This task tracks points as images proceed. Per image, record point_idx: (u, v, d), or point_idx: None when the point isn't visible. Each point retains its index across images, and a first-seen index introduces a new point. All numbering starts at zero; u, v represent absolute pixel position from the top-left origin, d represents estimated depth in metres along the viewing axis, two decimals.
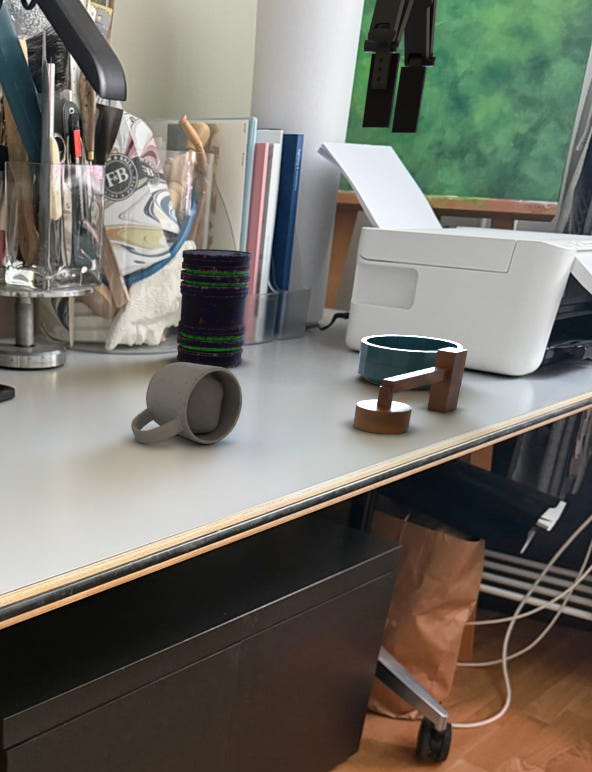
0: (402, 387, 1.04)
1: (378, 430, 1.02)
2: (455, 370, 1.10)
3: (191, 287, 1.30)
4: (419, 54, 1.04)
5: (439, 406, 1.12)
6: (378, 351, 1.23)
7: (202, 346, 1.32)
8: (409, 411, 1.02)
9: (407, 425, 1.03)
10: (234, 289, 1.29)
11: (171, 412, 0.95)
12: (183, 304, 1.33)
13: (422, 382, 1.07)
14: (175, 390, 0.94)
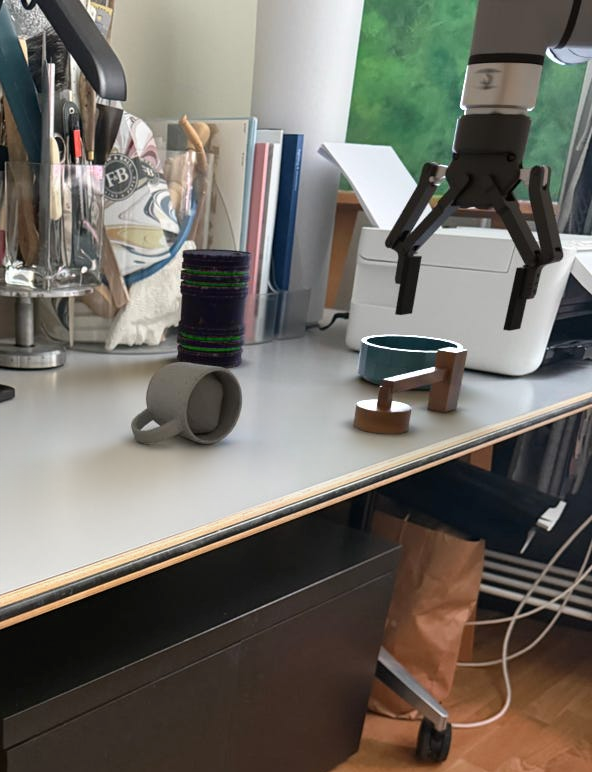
0: (402, 387, 1.04)
1: (378, 430, 1.02)
2: (455, 370, 1.10)
3: (191, 287, 1.30)
4: None
5: (439, 406, 1.12)
6: (378, 351, 1.23)
7: (202, 346, 1.32)
8: (409, 411, 1.02)
9: (407, 425, 1.03)
10: (234, 289, 1.29)
11: (171, 412, 0.95)
12: (183, 304, 1.33)
13: (422, 382, 1.07)
14: (175, 390, 0.94)
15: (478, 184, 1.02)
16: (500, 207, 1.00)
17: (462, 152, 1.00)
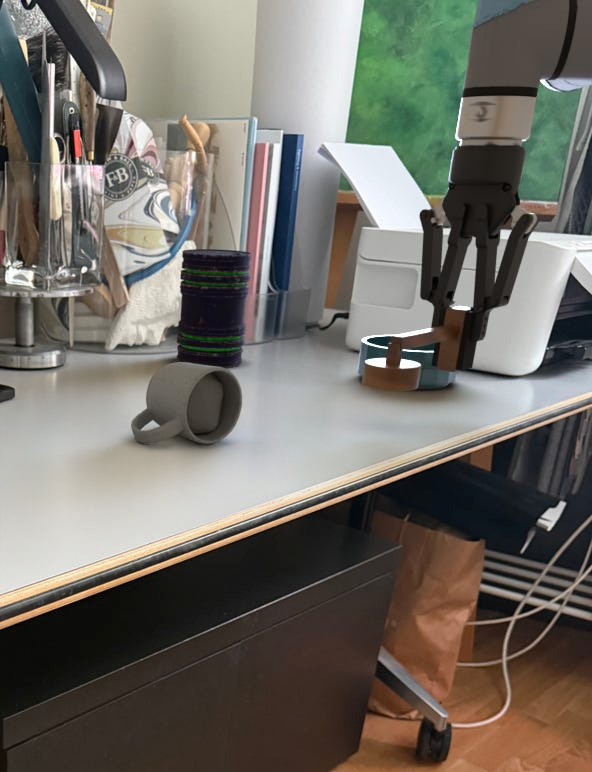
0: (411, 344, 1.02)
1: (387, 387, 1.00)
2: None
3: (191, 287, 1.30)
4: (445, 295, 1.10)
5: (449, 366, 1.10)
6: (378, 351, 1.23)
7: (202, 346, 1.32)
8: (419, 368, 1.00)
9: (417, 382, 1.01)
10: (234, 289, 1.29)
11: (171, 412, 0.95)
12: (183, 304, 1.33)
13: (431, 340, 1.05)
14: (175, 390, 0.94)
15: (474, 213, 1.03)
16: (480, 243, 1.03)
17: (458, 182, 1.01)
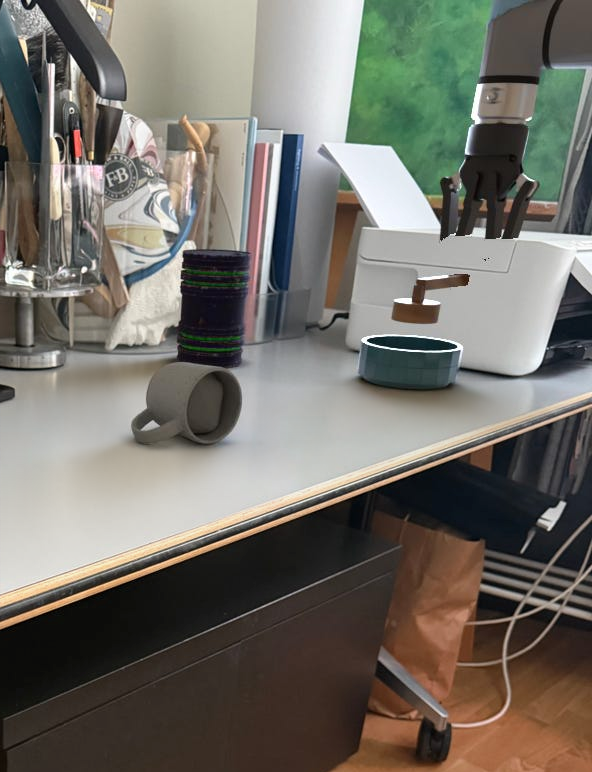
0: (432, 286, 1.24)
1: (413, 321, 1.22)
2: None
3: (191, 287, 1.30)
4: None
5: None
6: (378, 351, 1.23)
7: (202, 346, 1.32)
8: (439, 305, 1.23)
9: (437, 317, 1.23)
10: (234, 289, 1.29)
11: (171, 412, 0.95)
12: (183, 304, 1.33)
13: (449, 284, 1.27)
14: (175, 390, 0.94)
15: (486, 180, 1.25)
16: (490, 205, 1.25)
17: (473, 154, 1.24)
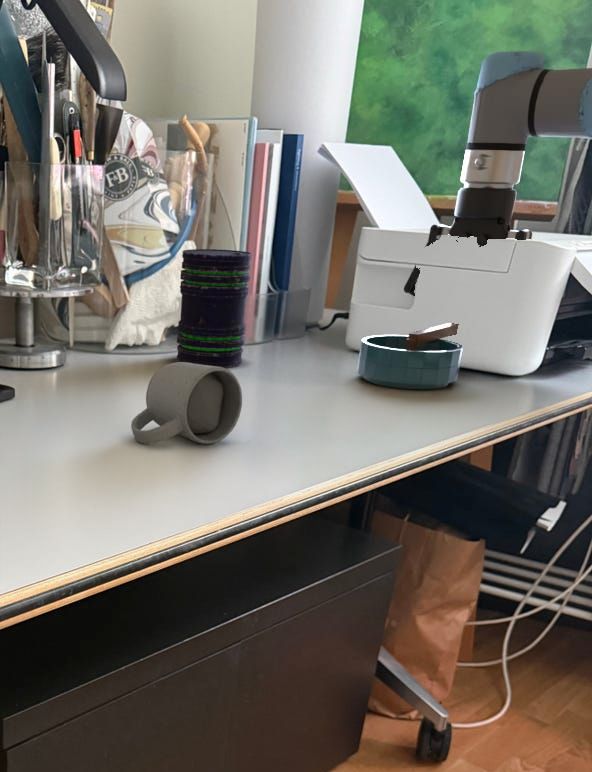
0: (424, 339, 1.27)
1: None
2: None
3: (191, 287, 1.30)
4: None
5: None
6: (378, 351, 1.23)
7: (202, 346, 1.32)
8: None
9: None
10: (234, 289, 1.29)
11: (171, 412, 0.95)
12: (183, 304, 1.33)
13: (441, 335, 1.30)
14: (175, 390, 0.94)
15: None
16: None
17: (462, 217, 1.27)
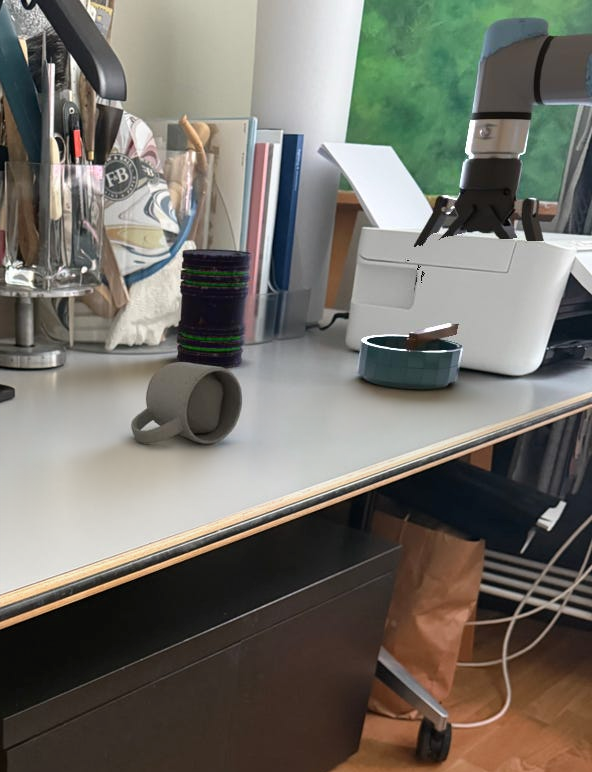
0: (425, 339, 1.27)
1: None
2: None
3: (191, 287, 1.30)
4: None
5: None
6: (378, 351, 1.23)
7: (202, 346, 1.32)
8: None
9: None
10: (234, 289, 1.29)
11: (171, 412, 0.95)
12: (183, 304, 1.33)
13: (441, 335, 1.30)
14: (175, 390, 0.94)
15: (481, 213, 1.27)
16: (499, 232, 1.26)
17: (468, 188, 1.26)
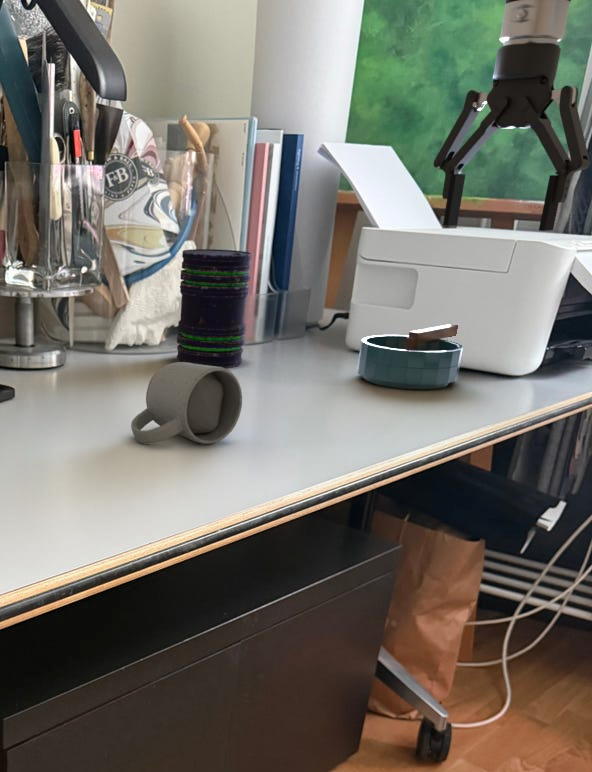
0: (425, 338, 1.27)
1: None
2: None
3: (191, 287, 1.30)
4: None
5: None
6: (378, 351, 1.23)
7: (202, 346, 1.32)
8: None
9: None
10: (234, 289, 1.29)
11: (171, 412, 0.95)
12: (183, 304, 1.33)
13: (441, 335, 1.30)
14: (175, 390, 0.94)
15: (515, 105, 1.20)
16: (535, 124, 1.18)
17: (502, 78, 1.18)
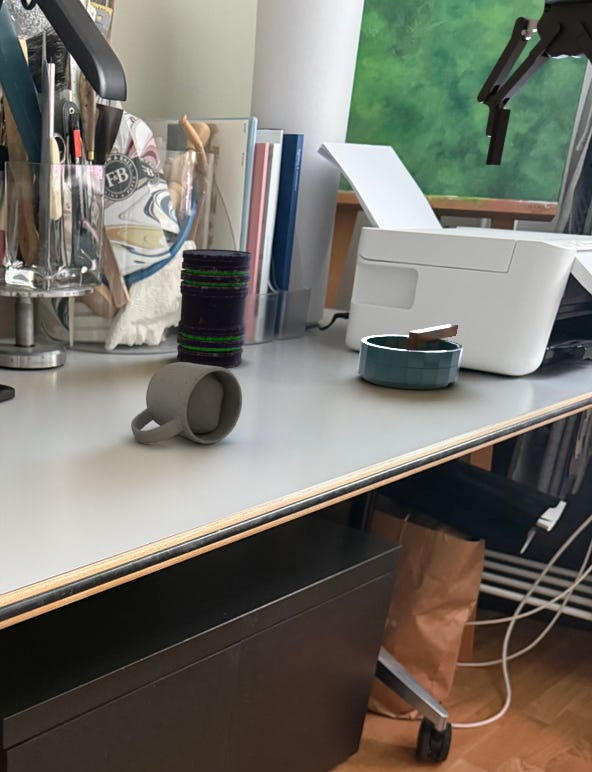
0: (425, 338, 1.27)
1: None
2: None
3: (191, 287, 1.30)
4: None
5: None
6: (378, 351, 1.23)
7: (202, 346, 1.32)
8: None
9: None
10: (234, 289, 1.29)
11: (171, 412, 0.95)
12: (183, 304, 1.33)
13: (441, 335, 1.30)
14: (175, 390, 0.94)
15: (568, 32, 1.13)
16: (590, 51, 1.11)
17: (555, 1, 1.11)
